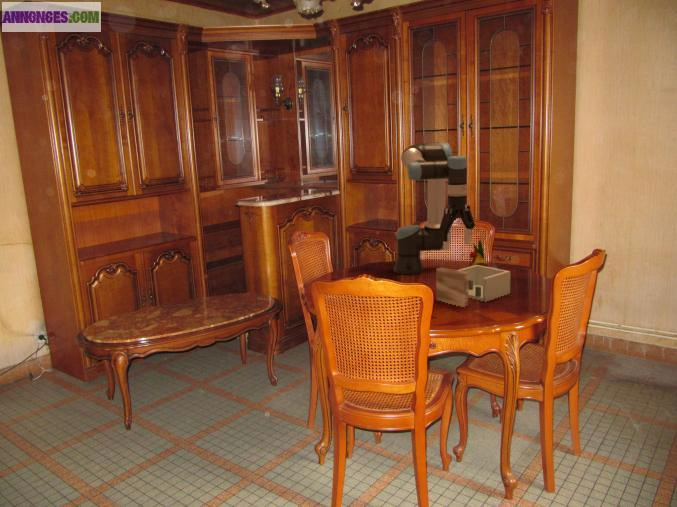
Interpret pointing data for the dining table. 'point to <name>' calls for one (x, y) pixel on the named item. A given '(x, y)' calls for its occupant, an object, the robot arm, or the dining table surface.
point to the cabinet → (487, 282)
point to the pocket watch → (494, 265)
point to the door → (452, 286)
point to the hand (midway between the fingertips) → (457, 246)
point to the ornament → (478, 256)
